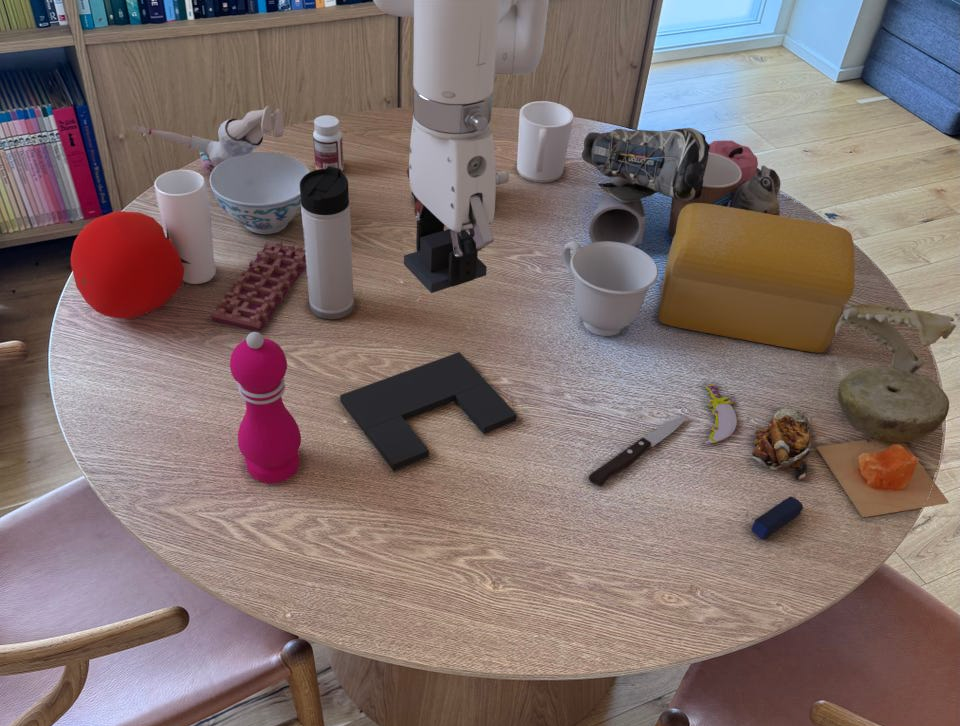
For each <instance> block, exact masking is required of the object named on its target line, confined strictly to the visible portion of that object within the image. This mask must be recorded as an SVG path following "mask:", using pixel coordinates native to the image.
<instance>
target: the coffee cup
mask: <svg viewBox="0 0 960 726" xmlns="http://www.w3.org/2000/svg"><path fill="white" fill-rule="evenodd" d="M708 153H709V152H708ZM738 176H739V177H738ZM741 176H742V173H741V169H740V168H739V166H738V165H737V164H736V163H735V162H733V161H732V160H730V159H728V158H726V157H724V156H721V155H718V154H714V153H709V155H708V161H707V165H706V169H705V173H704V177H703V186H702V190H701V196H700V197H699V198H697V199H693V200H691V201H683V200H678V199H676V198H673V197H671V203H670V204H671V205H670V212H669V221H668V234H669V237H670V238H671V240H672V241H673V238H674V236H675V234H676V227H677V221H678V217H679V214H680V212H681V210H682V209H683V208H684V207H685V205H688V204H692V203H706V204H714V205H720V206H726V207H729V204H730V202H731V200H730V198H731V196H732V192H733V191H734V189H735V187H736V184H737V182H738V181H739V180H740V179H741ZM673 210H674V211H673Z"/></svg>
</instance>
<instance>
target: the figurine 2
mask: <svg viewBox="0 0 960 726" xmlns="http://www.w3.org/2000/svg"><path fill="white" fill-rule="evenodd" d="M780 190H781V179H780V176H779V175H778V173H777V172H776V170H774V169H772V168H768V167H767V166H766V165H761V167H760V168H759V167H757V168H756V174H755V176H754V177H753V178H752V179H751V181H750V180H749V181H744V182H742V183H741V184H739V185H738V186H737V187H736V189H735V190H734V192H733V194H732V197H731V200H730V201H729V207H732V208H737V209H743V210H749V211H755V212H761V213H766V214H772V215H778V216H781V210H780V202H779V199H778V195H779V192H780Z"/></svg>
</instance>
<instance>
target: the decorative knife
mask: <svg viewBox="0 0 960 726" xmlns="http://www.w3.org/2000/svg"><path fill="white" fill-rule="evenodd" d="M704 388H705V389H706V390H707V391H708V392H709V394H710V396H711V398H712V399H709V400H707V402H708V403H707V406H708V407H709V408H713V409H712V410H711V413H712V415H714V416H715V420H714V421H715V422H714V423H715V424H714V425H713V426H711V431H712V432H711V433H710V435H709V439H707V440H706V441H705V442H704V444H717V442H722V441H723V440H725V439H727V438H729V437H730V436H731V435H732V434H733V433H734V431H735V430H736V428H737V421H738V420H737V415H736V411H735V410H734V408H733V406H732V405H733V404H734V400H732V399H730V398H731V396H728V397H727V396H724V397H719V394H718V392H717V389H716V388H718V385H717V384H713V383H708V384H706V385H705V387H704Z"/></svg>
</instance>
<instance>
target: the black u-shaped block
mask: <svg viewBox="0 0 960 726" xmlns="http://www.w3.org/2000/svg"><path fill="white" fill-rule="evenodd" d="M339 398H340V399H339V400H340V401H339V402H340V403H341V405H342V406H343V408H344V409H345V410H346V411H347V412H348V414H349V415H350V416H351V418H352V420H354V422H355V423H356V424H357V425H358V427H359V428H360V429H361V431H362V432H363V433H364V435H365V436H366V437H367V438H368V440H369V441H370V443H371V444H372V445H373V446H374V447H375V449H376V451H378V453H379V454H380V456H381V457H382V458H383V460H384V461H385V462H386V464H387V465H388V466H389V468H390V469H391V470H392V471H393V472H395V471H398V470H400V469H402V468H405V467H408V466H410V465H412V464H415V463H417V462H420V461H422V460H424V459H427V458H429V457H430V449H429V448H428V447H427V445H425V443H424V442H423V441H422V440H421V438H420V437H419V436H418V434H416V432H415V431H414V430H413V428H411V425H409V423H408V422H407V420H410V419H412V418H415V417H417V416H419V415H423V414H425V413H428V412H430V411H433V410H436V409H438V408H440V407H443V406H445V405H448V404H451V403H453V402H455V403H456V405H457V406H458V407H459V408H460V409H461V410H462V411H463V412H464V414H465V415H466V416H467V417H468V418H469V419H470V420H471V422H473V424H474V425H475V427H476V428H477V429H478V430H479V431H480V432H481V433H482V434H483V435H485V434H488V433H490V432H493V431H495V430H498V429H500V428H503V427H506V426H508V425H510V424H512V423H515V422H517V418H518V417H517V416H518V414H517V413H516V412H515V411H514V410H513V408H511V407H510V405H509V404H508V403H507V402H506V401H505V400H504V399H503V398H502V396H500V395H499V393H498V392H497V391H496V389H494V388H493V387H492V386H491V384H489V382H487V379H485V378H484V377H483V376H482V375H481V374H480V373H479V372H478V370H477V369H476V368H475V367H474V366H473V365H472V364H471V363H470V362H469V361H468V359H466V357H465V356H464V355H463V354H462V353H461V352H460V351H458V352H455V353H453V354H450V355H447V356H444V357H441V358H438V359H436V360H433V361H431V362H427V363H424V364H421V365H420V366H416V367H414V368H410V369H408V370H406V371H402V372H400V373H397V374H395V375H392V376H389V377H387V378H383V379H380V380H378V381H375V382H372V383H369V384H367V385H364V386H361V387H359V388H356V389H354V390H351V391H347V392H344V393H342V394H340V395H339Z"/></svg>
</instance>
